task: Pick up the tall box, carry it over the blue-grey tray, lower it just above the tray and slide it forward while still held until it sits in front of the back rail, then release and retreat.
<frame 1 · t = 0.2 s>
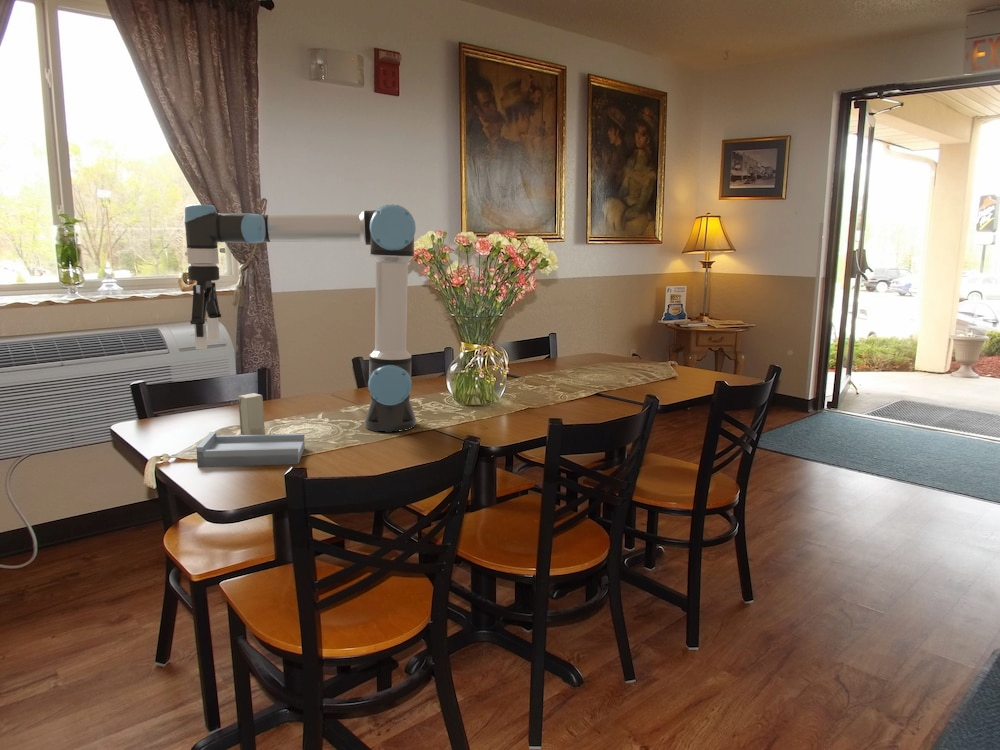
hand: (208, 345, 191), 27 cm above the table, fingers open, 13 cm apart
blue-grey tray: (253, 457, 184), on the table
box: (252, 440, 199), on the table
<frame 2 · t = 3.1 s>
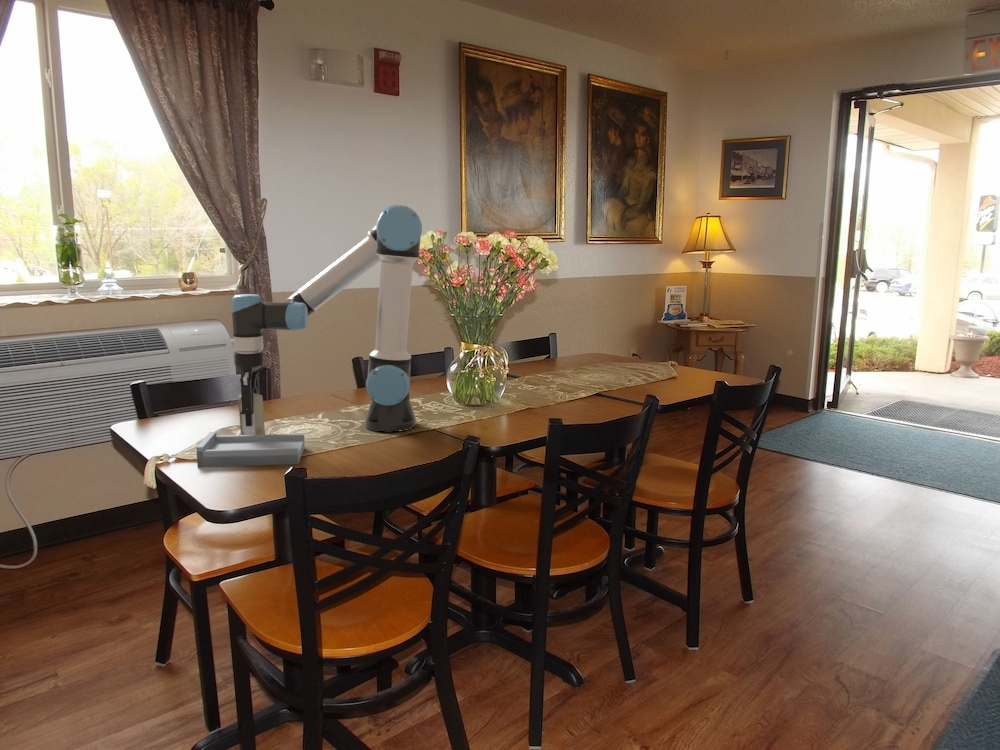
hand: (252, 433, 199), 2 cm above the table, fingers closed on box, 6 cm apart
box: (252, 440, 199), on the table, touching gripper
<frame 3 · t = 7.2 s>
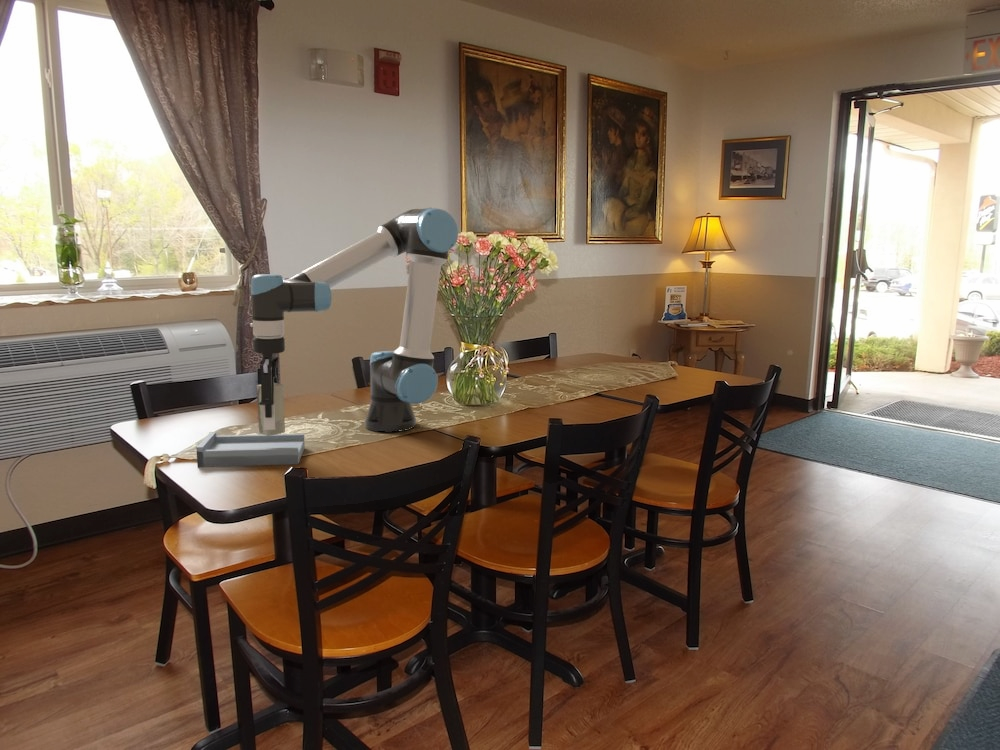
hand: (271, 425, 183), 8 cm above the table, fingers closed on box, 6 cm apart
box: (271, 434, 183), point 6 cm above the table, touching gripper
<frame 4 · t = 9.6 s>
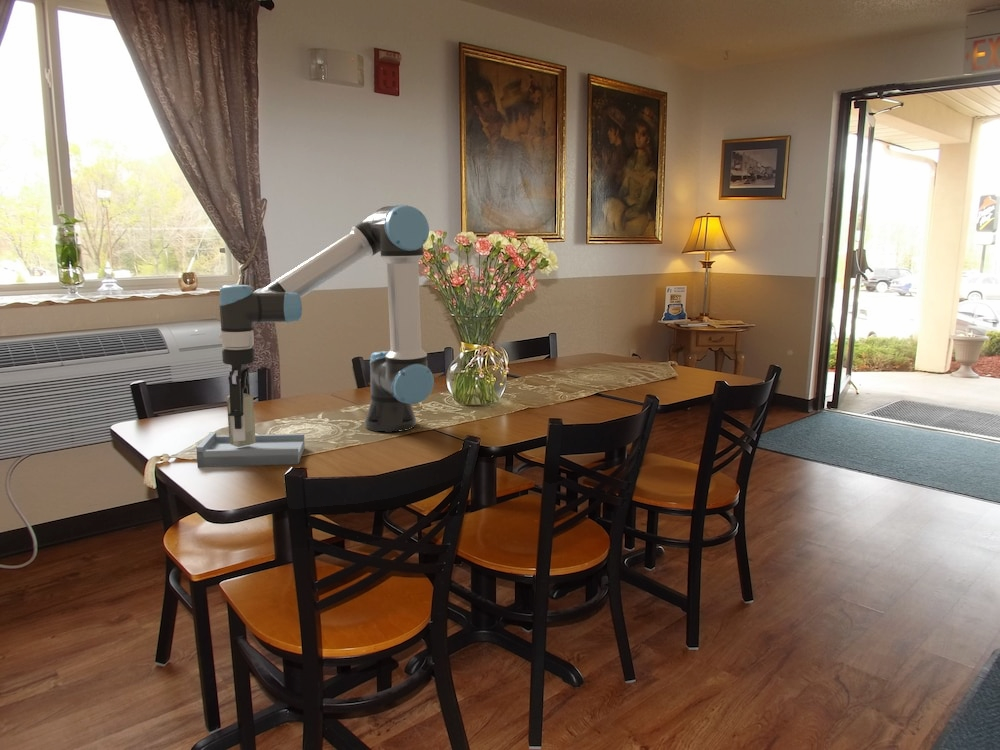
hand: (242, 436, 182), 6 cm above the table, fingers closed on box, 6 cm apart
box: (242, 445, 183), point 3 cm above the table, touching gripper
when the fingers open (5 cm above the table, at t = 11.6 s): box stays where it is, resting on blue-grey tray.
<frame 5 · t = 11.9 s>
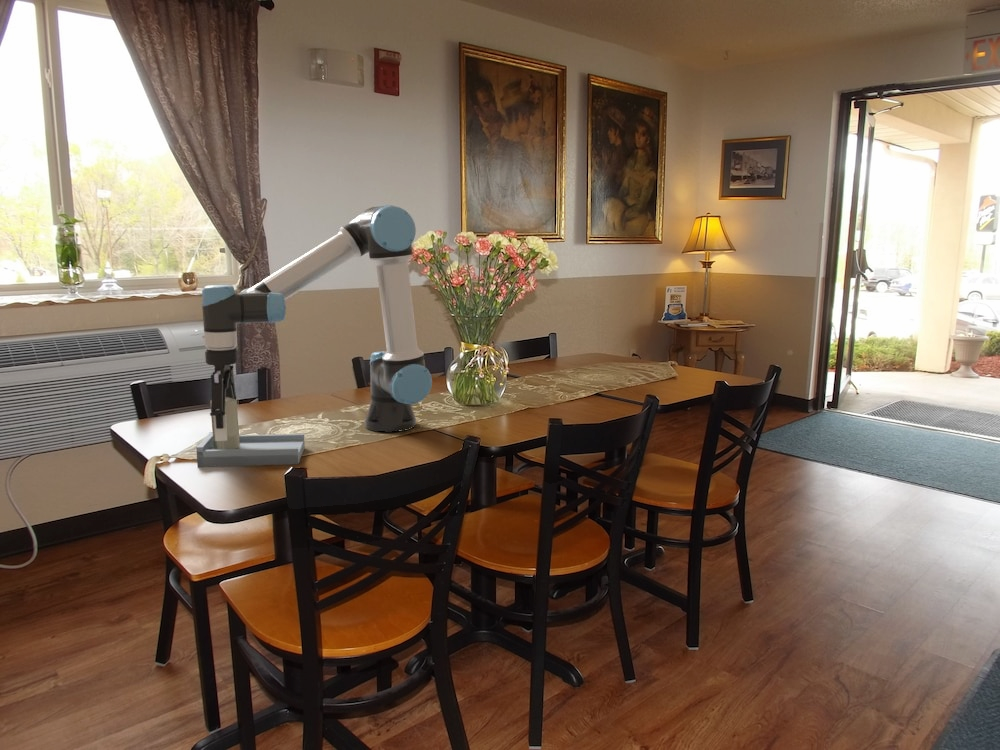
hand: (225, 434, 182), 6 cm above the table, fingers open, 9 cm apart
box: (226, 449, 182), point 2 cm above the table, touching blue-grey tray
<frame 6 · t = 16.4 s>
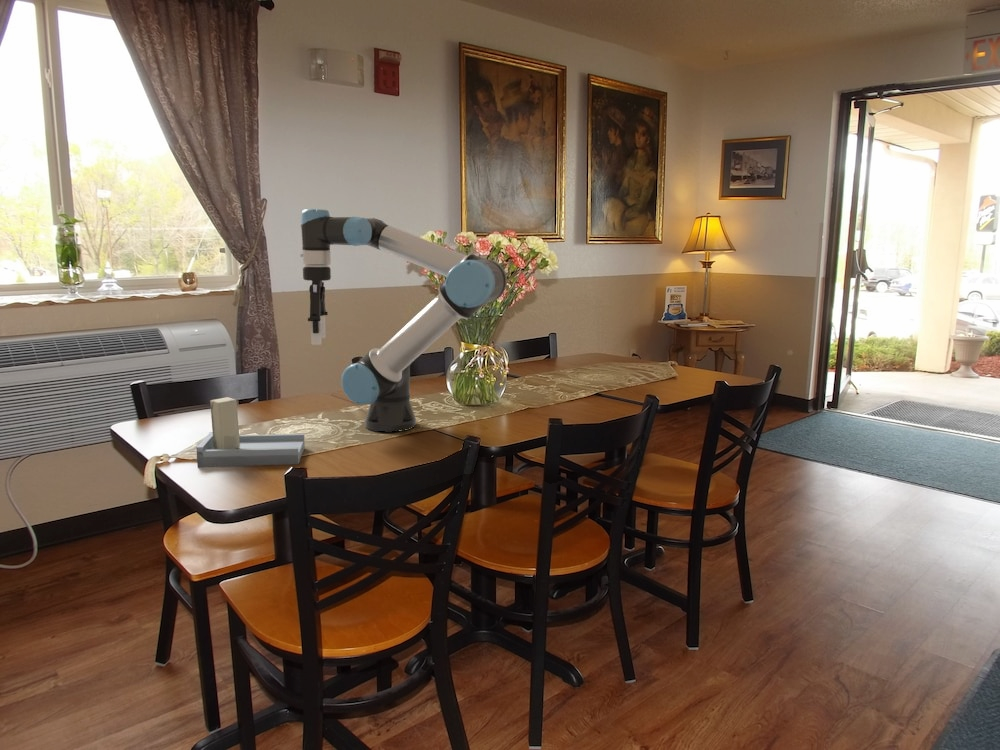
hand: (318, 341, 204), 27 cm above the table, fingers open, 13 cm apart
nothing on the table moved.
at the end: box inside the target area (0.5 cm from its centre), point 2.3 cm above the table; box tilted 0°; box touching blue-grey tray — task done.
